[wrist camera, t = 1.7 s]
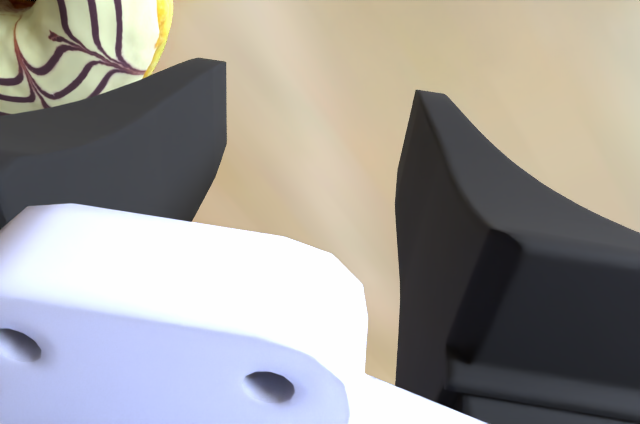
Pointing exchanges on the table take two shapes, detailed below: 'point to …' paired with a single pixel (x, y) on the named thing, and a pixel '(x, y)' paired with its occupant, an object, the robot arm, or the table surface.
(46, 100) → the decorated donut
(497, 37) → the table surface
